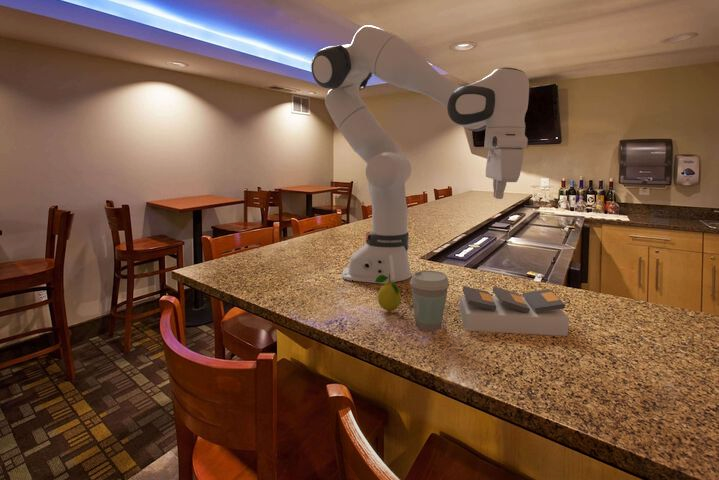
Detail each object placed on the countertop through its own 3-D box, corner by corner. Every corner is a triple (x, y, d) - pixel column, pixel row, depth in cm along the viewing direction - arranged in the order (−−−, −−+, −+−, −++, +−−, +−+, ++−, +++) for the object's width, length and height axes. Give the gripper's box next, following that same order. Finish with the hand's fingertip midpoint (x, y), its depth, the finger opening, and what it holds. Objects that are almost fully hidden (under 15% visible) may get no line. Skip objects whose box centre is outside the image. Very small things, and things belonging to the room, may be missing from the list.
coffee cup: (419, 314, 89) (420, 267, 87) (453, 323, 84) (455, 273, 82) (402, 328, 82) (403, 277, 80) (438, 338, 78) (440, 284, 75)
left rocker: (467, 304, 81) (469, 299, 81) (462, 289, 90) (463, 285, 89) (495, 310, 80) (496, 306, 80) (487, 295, 89) (488, 291, 89)
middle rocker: (501, 304, 80) (503, 300, 80) (492, 289, 89) (494, 285, 88) (528, 313, 79) (530, 308, 79) (516, 297, 88) (518, 293, 88)
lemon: (375, 307, 94) (374, 269, 92) (397, 306, 95) (398, 268, 92) (378, 318, 88) (378, 278, 85) (402, 316, 88) (403, 277, 86)
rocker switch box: (465, 330, 81) (466, 313, 80) (459, 310, 91) (460, 295, 91) (567, 335, 78) (569, 318, 77) (548, 314, 88) (550, 298, 88)
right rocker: (535, 312, 79) (534, 307, 79) (523, 296, 88) (522, 292, 88) (565, 308, 78) (564, 303, 78) (549, 292, 87) (549, 288, 87)
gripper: (482, 142, 99) (477, 193, 102) (499, 139, 79) (493, 202, 82) (506, 142, 98) (501, 194, 101) (530, 139, 78) (522, 203, 81)
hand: (497, 198), depth 92 cm, fingers closed
